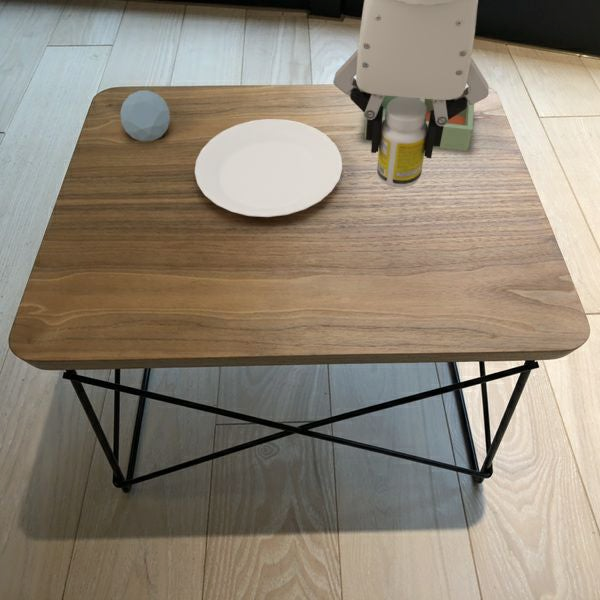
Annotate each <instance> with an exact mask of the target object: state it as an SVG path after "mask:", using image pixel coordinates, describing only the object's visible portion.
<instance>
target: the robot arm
mask: <svg viewBox="0 0 600 600" xmlns="http://www.w3.org/2000/svg"><path fill="white" fill-rule="evenodd" d="M478 7H479V0H363V7H362V15H361V20H360V28H359V38H358V47H357V50H356V51H354V53H352V54H351V56H350V57H349V58H348V59H347V60H346V61H345V62H344V63H343V65H341V66H340V67H339V68H338V69H337V71H336V72H335V74H334V76H333V80H332V81H333V85H334V86H335V87H336V88H337V89H339V90H340V91H341V92H342V93H343V94H345V95H348V97H349V98H350V100H351V101H352V102H353V103H354V104H355V105H356V106H357V107H358V109H360V110H361V111H362V112H363V116H364V118H365V120H366V119H367V128H366V140H365V141H371V146H370V147H371V148H370V153H372V154H376V153H379V142H380V130H381V124H382V118H383V107H384V106H382V101H383V99H384V96H385V95H386V96H398V97H409V98H422V99H432V102H433V110H431V112H430V118H429V124H428V133H427V140H426V146H425V153H424V158H425V159H432V156H433V150H434V148H435V147H440V143H441V138H442V133H443V127H444V126H445V125H446V124H447V123H448V120H449V119H451V118H452V117H454V116H456V115H457V114H459V113H460V112H462V111H463V110H465V109H466V108H467V106H469V105H473V104H474V105H475V104H477V103H479V102H480V101H482V100H485V99H486V98H487V97H488V96H489V93H490V92H489V87H490V86H489V83H488V82H487V80H486V78H485V77H484V75H483V73H482V72H481V70H480V69H479V67H478V65H477V64H476V63H475V61H474V59H473V57H472V54H473V50H474V49H473V48H474V43H475V35H476V26H477V19H478V18H477V17H478ZM355 77H356V78H355ZM466 86H467V87H466ZM433 146H434V147H433Z"/></svg>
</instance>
